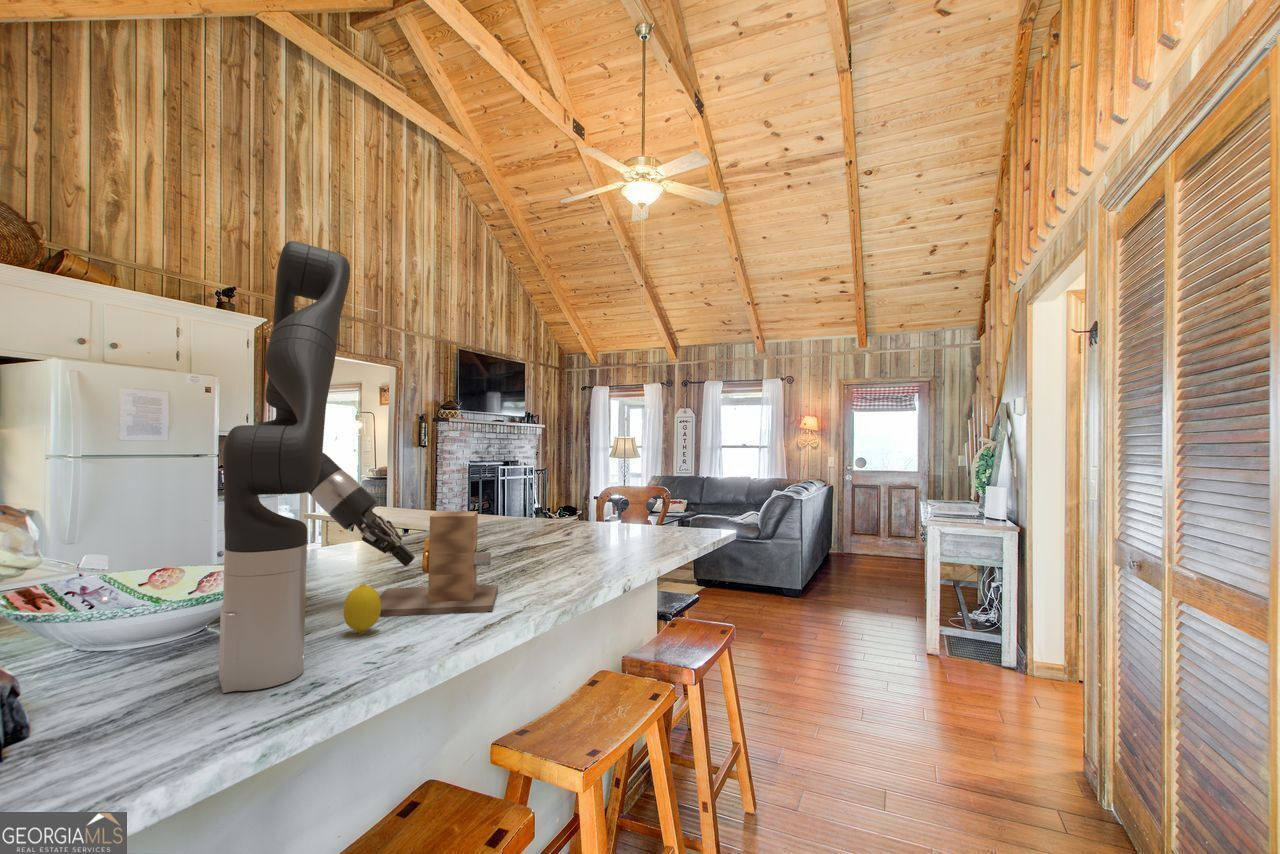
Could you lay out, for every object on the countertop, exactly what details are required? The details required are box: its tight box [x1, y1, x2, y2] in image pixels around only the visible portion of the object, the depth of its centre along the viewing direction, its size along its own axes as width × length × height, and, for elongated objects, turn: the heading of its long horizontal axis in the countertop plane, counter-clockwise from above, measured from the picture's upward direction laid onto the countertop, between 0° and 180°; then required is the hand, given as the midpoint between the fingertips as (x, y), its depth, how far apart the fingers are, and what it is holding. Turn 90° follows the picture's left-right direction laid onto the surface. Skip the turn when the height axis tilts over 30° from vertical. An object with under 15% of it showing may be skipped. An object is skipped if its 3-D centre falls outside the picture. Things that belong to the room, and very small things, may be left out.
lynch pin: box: [421, 537, 492, 574], centre depth 114 cm, size 12×5×7 cm, turn 100°
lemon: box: [342, 583, 381, 634], centre depth 95 cm, size 6×6×8 cm
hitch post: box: [379, 510, 499, 618], centre depth 114 cm, size 22×16×17 cm
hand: (410, 562), depth 113 cm, fingers closed
